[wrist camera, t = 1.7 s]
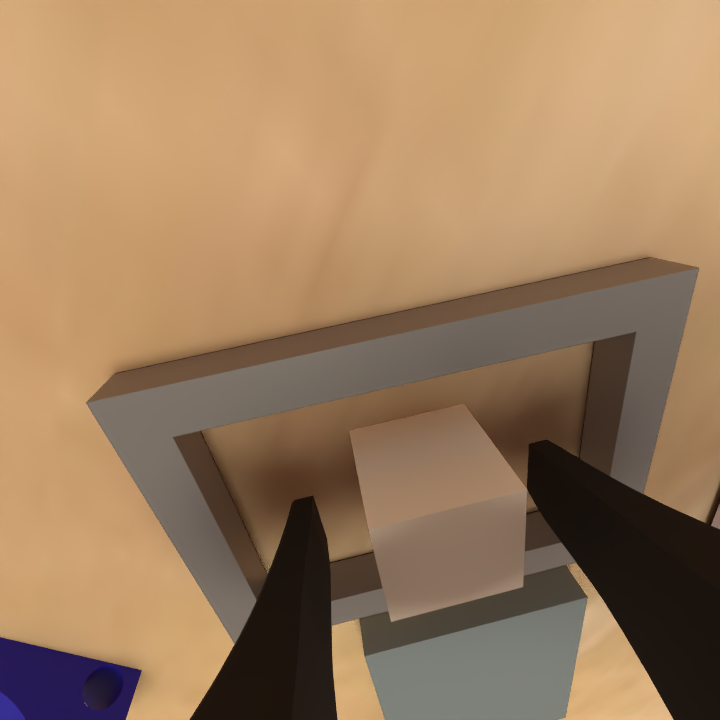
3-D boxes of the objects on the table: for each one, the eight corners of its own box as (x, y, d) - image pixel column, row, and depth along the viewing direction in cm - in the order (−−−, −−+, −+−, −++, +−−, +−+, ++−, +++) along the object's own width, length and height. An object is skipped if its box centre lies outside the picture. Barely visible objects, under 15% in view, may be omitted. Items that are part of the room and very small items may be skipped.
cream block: (462, 402, 13) (527, 489, 9) (468, 486, 14) (523, 587, 11) (348, 429, 12) (368, 529, 9) (368, 511, 14) (390, 621, 11)
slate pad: (565, 565, 17) (587, 597, 16) (550, 685, 23) (565, 717, 22) (359, 618, 17) (364, 656, 16) (393, 728, 22) (399, 763, 21)
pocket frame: (651, 257, 11) (699, 267, 10) (602, 518, 16) (629, 548, 15) (114, 374, 10) (85, 402, 9) (243, 609, 15) (238, 650, 14)
